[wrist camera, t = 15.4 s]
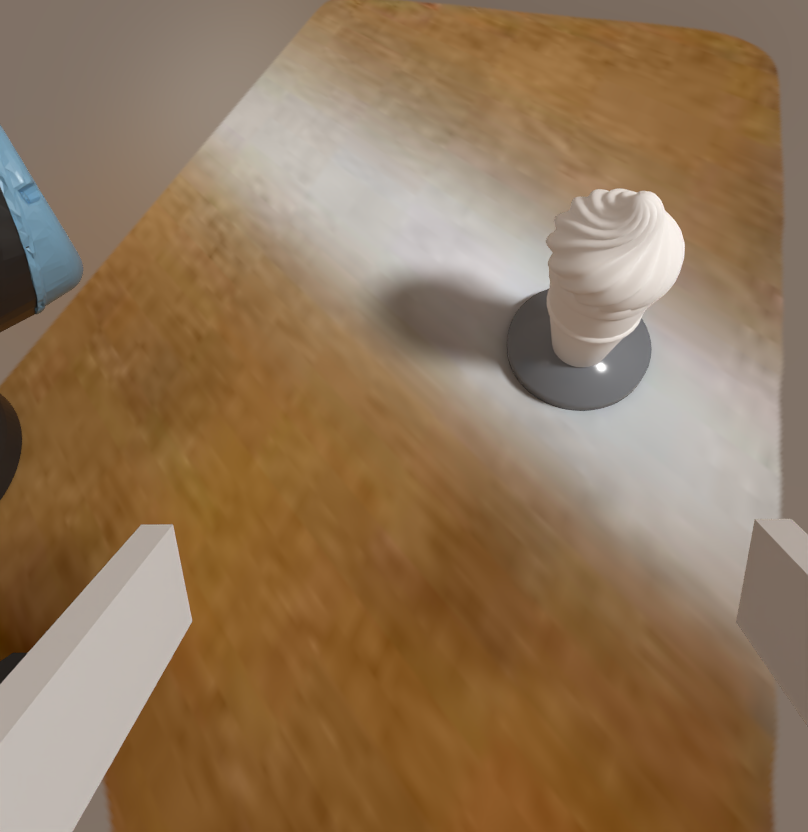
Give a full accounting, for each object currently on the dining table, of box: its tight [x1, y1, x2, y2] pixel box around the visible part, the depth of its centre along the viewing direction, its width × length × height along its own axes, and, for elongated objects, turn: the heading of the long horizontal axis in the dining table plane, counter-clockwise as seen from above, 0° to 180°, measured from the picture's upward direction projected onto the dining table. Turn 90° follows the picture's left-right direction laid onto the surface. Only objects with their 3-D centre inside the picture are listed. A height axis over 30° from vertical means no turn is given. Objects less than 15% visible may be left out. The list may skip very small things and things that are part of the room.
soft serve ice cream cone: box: [546, 188, 685, 367], centre depth 41 cm, size 8×8×16 cm
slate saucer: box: [507, 289, 651, 411], centre depth 48 cm, size 11×11×1 cm
